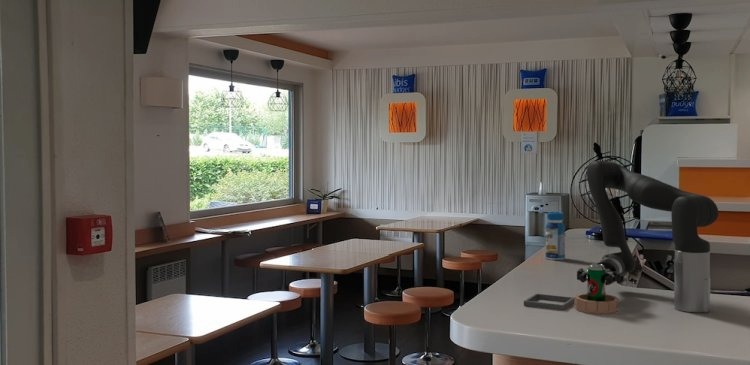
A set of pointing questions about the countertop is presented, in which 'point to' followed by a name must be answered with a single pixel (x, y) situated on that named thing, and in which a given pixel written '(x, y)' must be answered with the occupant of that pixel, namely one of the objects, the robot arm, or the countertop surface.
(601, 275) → the soda can
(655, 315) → the countertop surface
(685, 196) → the robot arm
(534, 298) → the tray
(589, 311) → the bowl
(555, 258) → the beverage bottle
